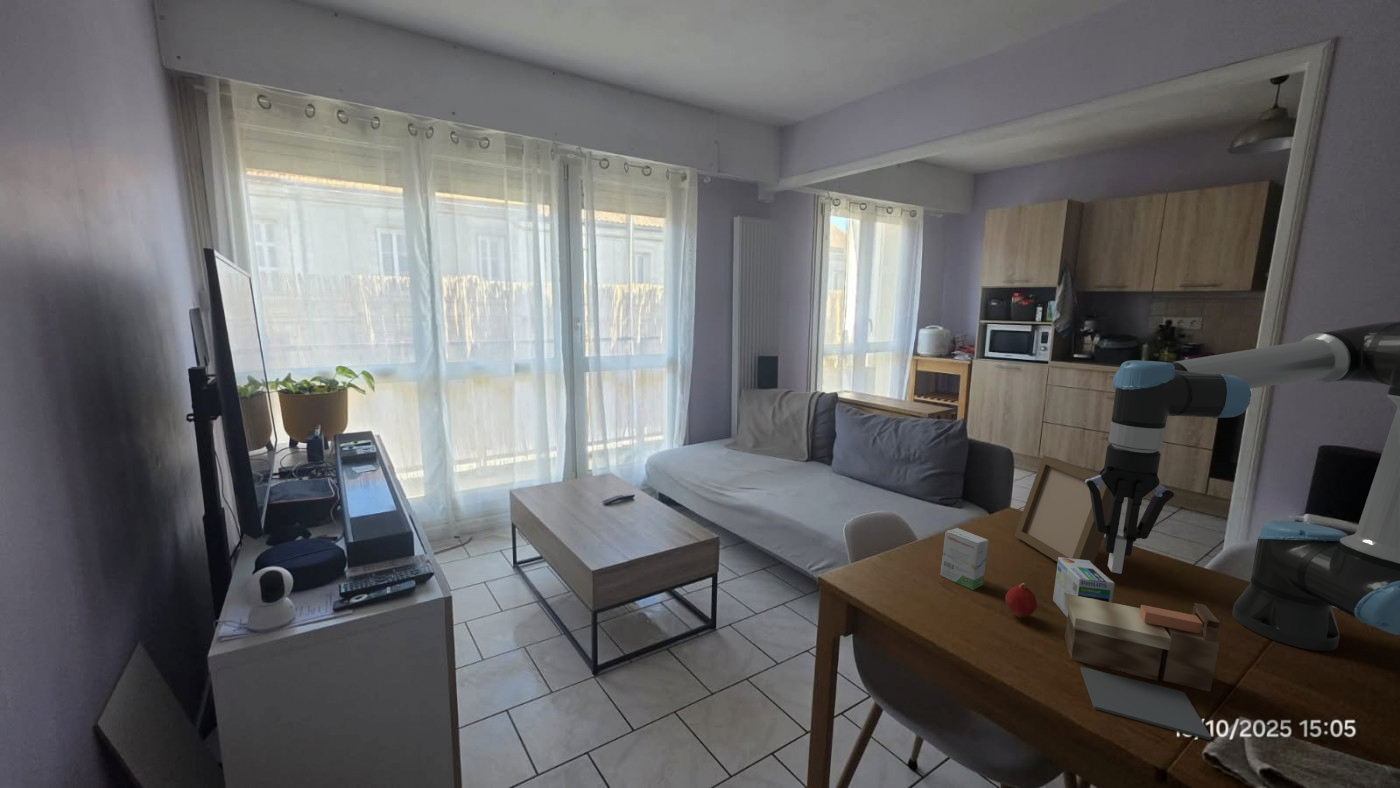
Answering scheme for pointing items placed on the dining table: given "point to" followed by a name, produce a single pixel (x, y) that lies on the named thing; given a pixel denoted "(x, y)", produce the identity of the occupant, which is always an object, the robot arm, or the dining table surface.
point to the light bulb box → (1080, 582)
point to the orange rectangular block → (1171, 619)
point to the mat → (1143, 702)
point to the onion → (1021, 600)
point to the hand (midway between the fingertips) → (1114, 569)
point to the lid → (1114, 621)
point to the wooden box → (1154, 653)
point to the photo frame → (1062, 512)
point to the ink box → (964, 558)
